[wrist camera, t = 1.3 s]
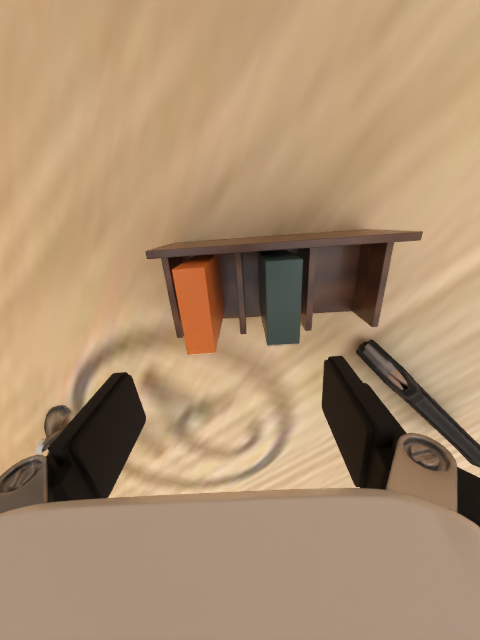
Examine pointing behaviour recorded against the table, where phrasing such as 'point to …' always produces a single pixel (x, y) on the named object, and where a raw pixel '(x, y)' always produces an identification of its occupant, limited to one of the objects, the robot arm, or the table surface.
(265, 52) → the table surface
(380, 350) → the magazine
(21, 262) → the table surface
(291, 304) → the green book
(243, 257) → the book rack
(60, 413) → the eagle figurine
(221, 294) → the orange book
